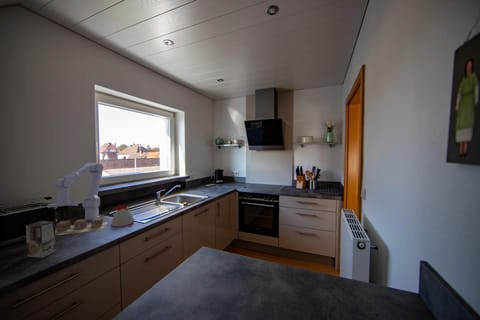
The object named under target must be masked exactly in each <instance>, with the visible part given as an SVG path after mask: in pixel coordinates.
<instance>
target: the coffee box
mask: <svg viewBox="0 0 480 320" xmlns="http://www.w3.org/2000/svg"><path fill="white" fill-rule="evenodd" d="M25 230H26V231H25V233H26V234H25V235H26V236H25V237H26V239H25V240H26V257H28V258H29V257H30V258H41V259H43V258H45V257H47V256H49V255H51V254H53V253H55V252H56V249H57V248H56V247H57V246H56V243H57V242H56V235H55V230H56V221H51V220H49V221H48V220H38V221H36V222H33V223H30V224H26V225H25Z"/></svg>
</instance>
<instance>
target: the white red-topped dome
mask: <svg viewBox="0 0 480 320" xmlns="http://www.w3.org/2000/svg"><path fill="white" fill-rule="evenodd" d="M115 209H116V212H115V213H114V215H112V218H111V219H112V220H111V222H110V226H111V227H113V228H121V227H126V226H128V227H131V226H132V225H134V224H135V223H134V222H135V221H134V217H133V214H132V212H131V211H130V210H129V209H130V208H129V206H127V205H125V204H123V205H122V204H118V206H115Z"/></svg>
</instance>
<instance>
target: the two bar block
mask: <svg viewBox="0 0 480 320" xmlns="http://www.w3.org/2000/svg"><path fill="white" fill-rule="evenodd" d="M103 219H104V218H103V217H97V218H94V219H93V220H90V223H91V228H98V227H101V226H102V225H103V222H104V221H103Z"/></svg>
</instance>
